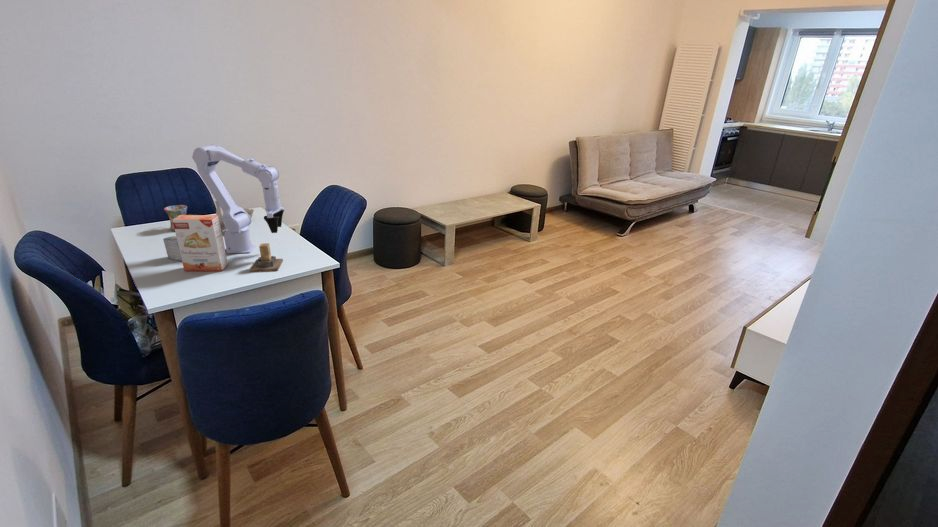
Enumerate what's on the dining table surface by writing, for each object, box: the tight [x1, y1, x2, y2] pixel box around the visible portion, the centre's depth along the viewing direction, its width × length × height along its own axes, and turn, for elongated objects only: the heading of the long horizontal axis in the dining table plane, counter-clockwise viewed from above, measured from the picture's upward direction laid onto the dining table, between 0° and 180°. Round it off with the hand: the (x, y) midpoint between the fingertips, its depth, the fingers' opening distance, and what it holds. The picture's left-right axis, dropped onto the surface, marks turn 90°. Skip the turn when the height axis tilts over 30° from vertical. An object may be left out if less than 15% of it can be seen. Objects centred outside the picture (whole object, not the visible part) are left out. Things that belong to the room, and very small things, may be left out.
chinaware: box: [213, 198, 254, 232], centre depth 217 cm, size 28×17×17 cm, turn 15°
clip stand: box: [249, 255, 284, 273], centre depth 176 cm, size 10×10×3 cm
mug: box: [163, 204, 188, 232], centre depth 212 cm, size 12×9×11 cm
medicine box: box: [163, 235, 182, 261], centre depth 180 cm, size 8×4×9 cm, turn 71°
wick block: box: [258, 242, 272, 261], centre depth 175 cm, size 3×3×8 cm
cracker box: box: [172, 214, 229, 272], centre depth 169 cm, size 14×6×21 cm, turn 94°
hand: (276, 229), depth 186 cm, fingers open, 7 cm apart
